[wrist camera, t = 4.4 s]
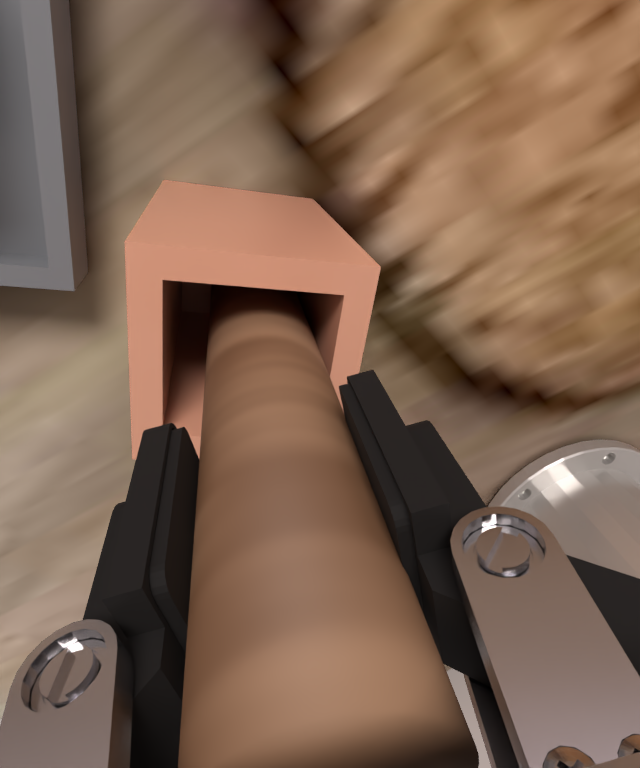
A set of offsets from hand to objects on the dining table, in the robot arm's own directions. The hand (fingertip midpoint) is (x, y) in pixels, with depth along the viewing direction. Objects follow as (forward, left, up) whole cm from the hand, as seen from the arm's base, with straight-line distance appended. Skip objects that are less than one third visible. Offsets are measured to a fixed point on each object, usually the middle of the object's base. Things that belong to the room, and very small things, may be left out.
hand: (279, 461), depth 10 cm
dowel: (0, 0, -11) cm, 11 cm away
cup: (0, 0, -14) cm, 14 cm away
